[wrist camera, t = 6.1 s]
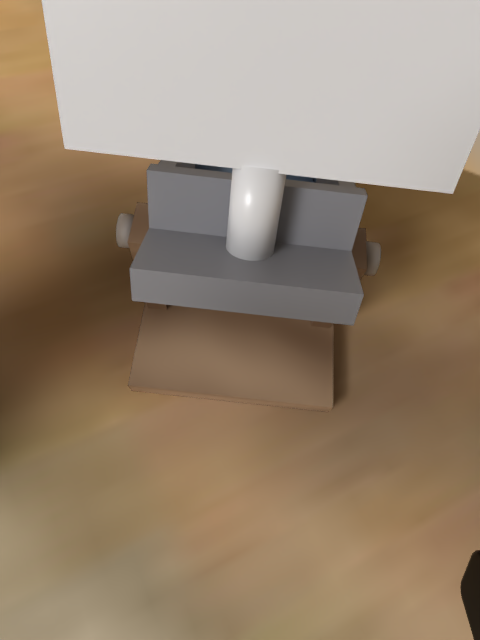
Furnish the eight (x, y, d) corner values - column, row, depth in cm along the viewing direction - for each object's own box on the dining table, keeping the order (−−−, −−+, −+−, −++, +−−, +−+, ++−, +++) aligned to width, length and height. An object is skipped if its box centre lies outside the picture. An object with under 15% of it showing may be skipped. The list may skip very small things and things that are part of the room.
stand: (335, 412, 22) (386, 371, 16) (123, 389, 22) (86, 338, 15) (336, 276, 25) (378, 196, 19) (151, 255, 25) (131, 167, 19)
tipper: (416, 332, 14) (569, -1, 8) (67, 293, 14) (-1, -71, 8) (365, 204, 21) (428, -13, 16) (141, 178, 21) (130, -50, 16)
